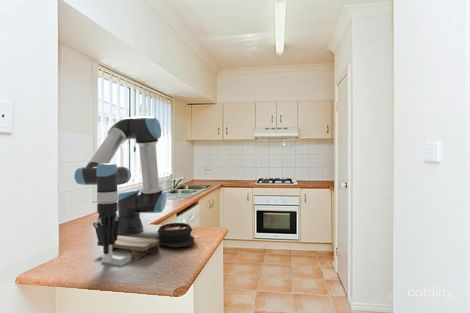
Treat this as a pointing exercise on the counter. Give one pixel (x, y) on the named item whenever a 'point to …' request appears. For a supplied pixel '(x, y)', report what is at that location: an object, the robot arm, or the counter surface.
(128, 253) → the plastic case
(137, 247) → the low shelf
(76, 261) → the counter surface
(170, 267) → the counter surface
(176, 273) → the counter surface
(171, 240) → the casserole
